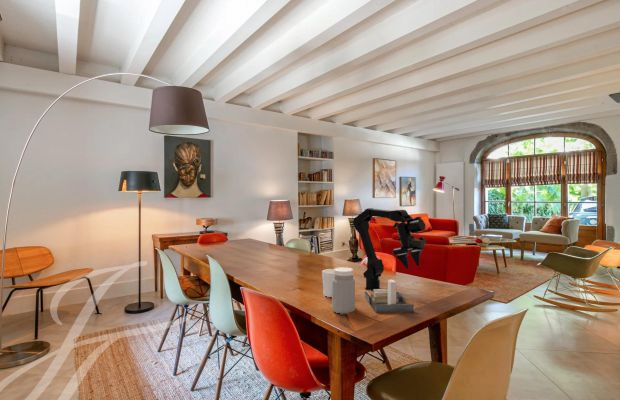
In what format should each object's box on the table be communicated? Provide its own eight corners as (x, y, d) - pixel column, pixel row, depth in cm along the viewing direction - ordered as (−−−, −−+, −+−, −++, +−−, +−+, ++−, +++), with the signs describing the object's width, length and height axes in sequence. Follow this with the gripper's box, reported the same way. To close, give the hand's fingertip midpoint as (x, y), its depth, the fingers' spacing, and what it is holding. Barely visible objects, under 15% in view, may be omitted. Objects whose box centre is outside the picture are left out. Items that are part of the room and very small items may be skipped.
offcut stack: (370, 298, 155) (370, 289, 154) (393, 297, 155) (393, 288, 155) (374, 302, 148) (374, 293, 148) (398, 302, 148) (398, 293, 148)
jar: (358, 313, 137) (358, 271, 137) (336, 316, 134) (336, 272, 134) (349, 306, 146) (349, 266, 146) (328, 308, 144) (328, 267, 143)
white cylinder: (344, 293, 165) (344, 269, 165) (337, 299, 156) (337, 274, 156) (326, 291, 169) (326, 268, 169) (318, 296, 160) (318, 272, 160)
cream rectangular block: (387, 307, 142) (387, 279, 142) (392, 307, 142) (392, 279, 142) (390, 310, 138) (390, 282, 138) (395, 310, 138) (396, 282, 138)
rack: (364, 299, 156) (364, 291, 156) (398, 298, 157) (398, 290, 157) (375, 315, 136) (375, 305, 136) (413, 314, 137) (413, 304, 137)
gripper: (408, 233, 147) (417, 268, 144) (429, 230, 159) (438, 262, 156) (388, 238, 155) (396, 271, 152) (409, 234, 167) (417, 265, 164)
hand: (413, 267), depth 156 cm, fingers open, 9 cm apart
